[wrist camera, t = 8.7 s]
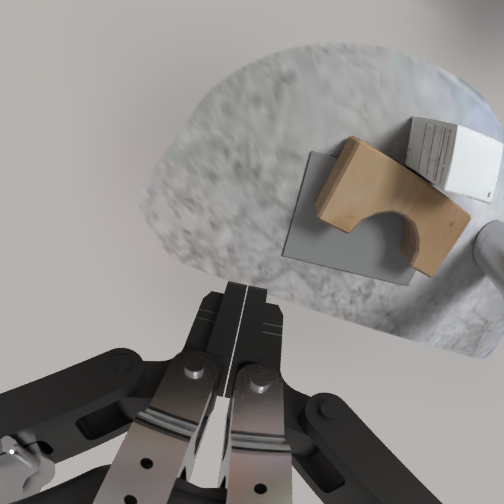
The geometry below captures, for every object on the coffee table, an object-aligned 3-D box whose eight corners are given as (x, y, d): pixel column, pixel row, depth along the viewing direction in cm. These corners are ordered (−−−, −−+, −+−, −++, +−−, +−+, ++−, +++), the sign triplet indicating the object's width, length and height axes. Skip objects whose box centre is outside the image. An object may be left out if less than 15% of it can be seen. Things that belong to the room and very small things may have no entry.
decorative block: (312, 205, 39) (419, 260, 41) (316, 220, 34) (432, 280, 36) (349, 134, 34) (455, 203, 35) (359, 138, 29) (473, 217, 30)
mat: (446, 198, 36) (447, 199, 35) (407, 284, 44) (407, 286, 43) (311, 151, 36) (311, 151, 35) (282, 254, 44) (282, 255, 43)
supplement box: (453, 128, 30) (506, 144, 19) (444, 176, 34) (491, 206, 23) (411, 114, 31) (457, 122, 20) (402, 164, 35) (443, 193, 24)
